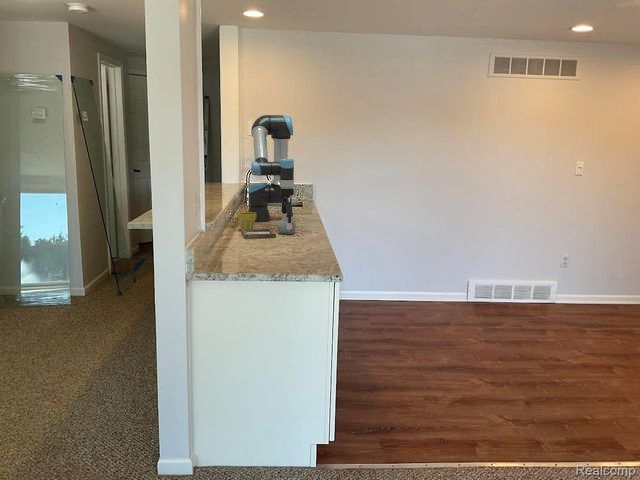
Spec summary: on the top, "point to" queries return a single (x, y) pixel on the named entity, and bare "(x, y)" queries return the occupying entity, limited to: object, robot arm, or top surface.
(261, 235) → the coaster tray
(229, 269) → the top surface
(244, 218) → the plant pot
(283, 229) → the ceramic mug
